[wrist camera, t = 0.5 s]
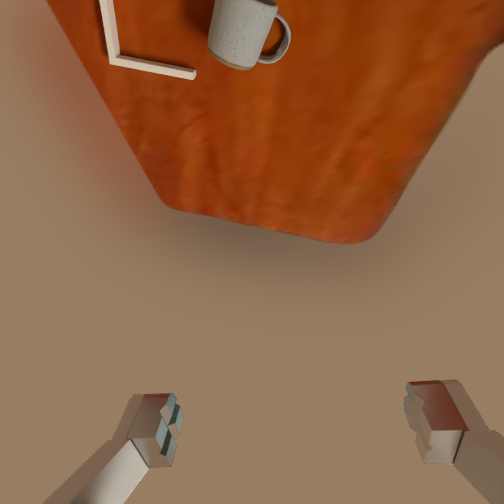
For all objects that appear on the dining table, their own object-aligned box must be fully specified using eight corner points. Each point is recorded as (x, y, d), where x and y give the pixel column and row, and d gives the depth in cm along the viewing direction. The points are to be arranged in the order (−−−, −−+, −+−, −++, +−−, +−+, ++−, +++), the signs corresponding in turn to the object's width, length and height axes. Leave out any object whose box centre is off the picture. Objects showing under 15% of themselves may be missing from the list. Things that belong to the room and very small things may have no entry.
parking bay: (92, -89, 37) (84, -91, 36) (196, -69, 37) (192, -70, 36) (115, 61, 48) (110, 63, 47) (195, 76, 48) (192, 79, 47)
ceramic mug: (211, 44, 45) (198, 56, 40) (227, -27, 39) (214, -24, 34) (277, 74, 47) (273, 89, 41) (301, 10, 41) (301, 19, 36)
